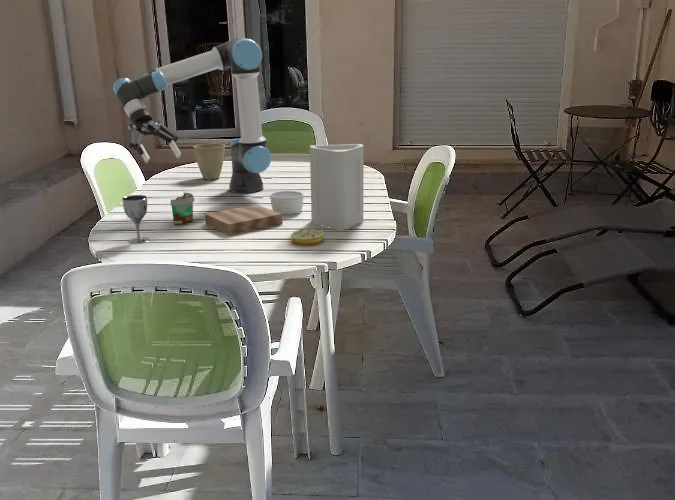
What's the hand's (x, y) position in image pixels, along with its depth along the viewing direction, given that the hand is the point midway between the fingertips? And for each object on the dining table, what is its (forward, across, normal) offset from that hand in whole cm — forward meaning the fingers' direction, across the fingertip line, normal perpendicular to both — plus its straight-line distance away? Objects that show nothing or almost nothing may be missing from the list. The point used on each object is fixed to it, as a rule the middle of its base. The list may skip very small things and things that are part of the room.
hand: (164, 158), depth 251 cm
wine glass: (+29, +24, -4) cm, 38 cm away
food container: (+24, -1, -8) cm, 25 cm away
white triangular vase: (+55, -36, +24) cm, 70 cm away
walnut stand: (+37, -13, +5) cm, 39 cm away
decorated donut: (+60, -13, +28) cm, 67 cm away
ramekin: (+35, -36, +3) cm, 51 cm away
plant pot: (-17, -56, -49) cm, 76 cm away
